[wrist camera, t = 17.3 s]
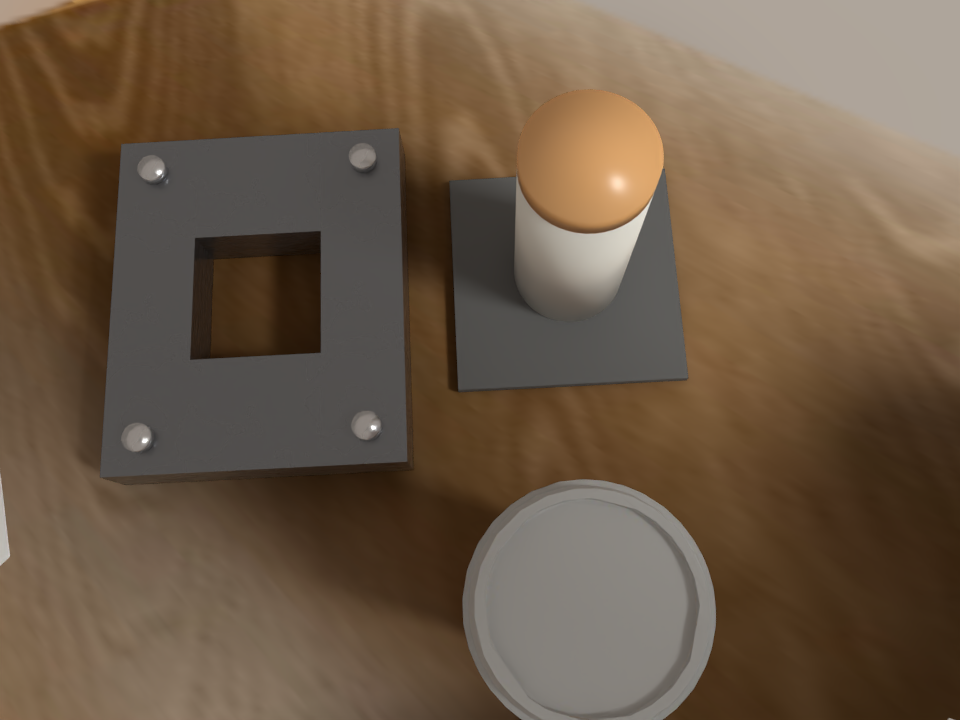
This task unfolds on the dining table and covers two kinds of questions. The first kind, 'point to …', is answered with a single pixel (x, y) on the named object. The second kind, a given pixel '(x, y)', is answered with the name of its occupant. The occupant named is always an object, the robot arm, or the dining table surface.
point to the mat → (549, 343)
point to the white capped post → (581, 200)
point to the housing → (259, 379)
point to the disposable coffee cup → (589, 605)
